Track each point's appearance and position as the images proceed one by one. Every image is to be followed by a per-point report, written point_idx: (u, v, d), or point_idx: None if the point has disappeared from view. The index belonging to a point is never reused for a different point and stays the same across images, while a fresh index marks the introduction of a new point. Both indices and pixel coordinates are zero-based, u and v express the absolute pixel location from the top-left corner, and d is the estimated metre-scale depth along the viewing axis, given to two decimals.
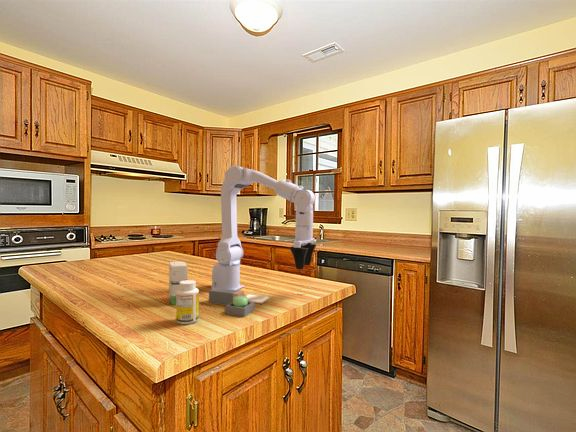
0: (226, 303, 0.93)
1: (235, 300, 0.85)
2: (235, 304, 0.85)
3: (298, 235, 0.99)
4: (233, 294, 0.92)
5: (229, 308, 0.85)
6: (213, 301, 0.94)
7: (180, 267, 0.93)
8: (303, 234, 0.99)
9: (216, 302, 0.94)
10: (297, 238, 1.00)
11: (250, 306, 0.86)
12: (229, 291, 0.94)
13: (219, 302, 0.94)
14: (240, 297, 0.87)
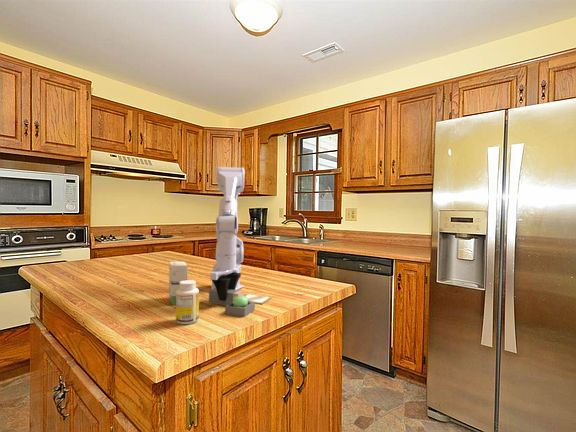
0: (226, 303, 0.93)
1: (235, 300, 0.85)
2: (235, 304, 0.85)
3: (219, 265, 0.92)
4: (233, 294, 0.92)
5: (229, 308, 0.85)
6: (213, 301, 0.94)
7: (180, 267, 0.93)
8: (223, 264, 0.92)
9: (216, 302, 0.94)
10: (218, 268, 0.93)
11: (250, 306, 0.86)
12: (229, 291, 0.94)
13: (219, 302, 0.94)
14: (240, 297, 0.87)
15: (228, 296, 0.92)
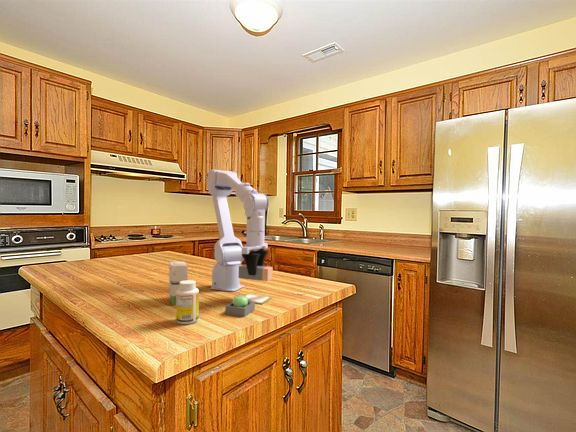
0: (256, 278, 0.96)
1: (235, 300, 0.85)
2: (235, 304, 0.85)
3: (249, 241, 0.96)
4: (262, 269, 0.96)
5: (229, 308, 0.85)
6: (243, 276, 0.98)
7: (180, 267, 0.93)
8: (253, 240, 0.95)
9: (246, 277, 0.98)
10: (247, 244, 0.96)
11: (250, 306, 0.86)
12: (258, 267, 0.98)
13: (249, 277, 0.97)
14: (240, 297, 0.87)
15: (258, 271, 0.96)
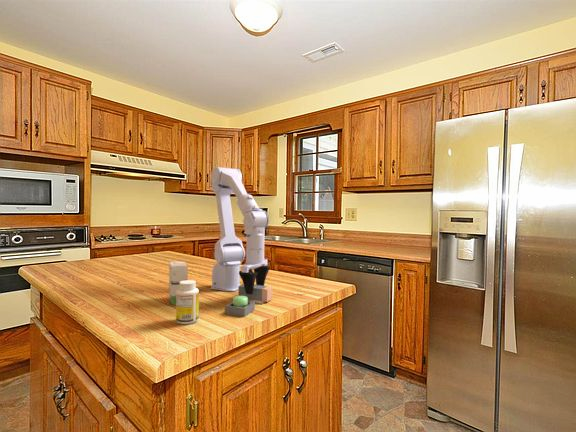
0: (255, 298, 0.97)
1: (235, 300, 0.85)
2: (235, 304, 0.85)
3: (249, 259, 0.96)
4: (262, 289, 0.96)
5: (229, 308, 0.85)
6: None
7: (180, 267, 0.93)
8: (252, 258, 0.96)
9: None
10: (247, 261, 0.97)
11: (250, 306, 0.86)
12: (258, 287, 0.98)
13: (248, 297, 0.97)
14: (240, 297, 0.87)
15: (257, 292, 0.96)
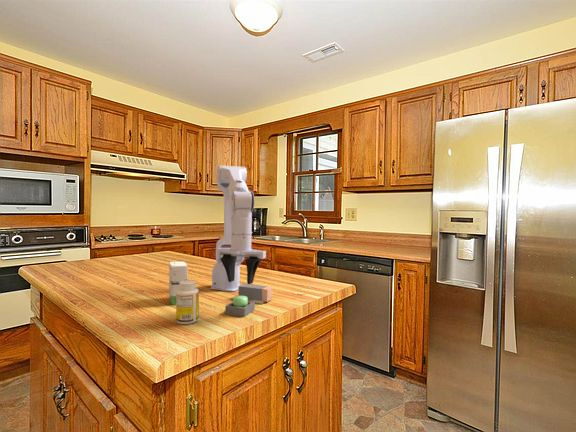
0: (255, 298, 0.97)
1: (235, 300, 0.85)
2: (235, 304, 0.85)
3: None
4: (262, 289, 0.96)
5: (229, 308, 0.85)
6: None
7: (180, 267, 0.93)
8: None
9: None
10: None
11: (250, 306, 0.86)
12: (258, 287, 0.98)
13: (248, 297, 0.97)
14: (240, 297, 0.87)
15: (257, 292, 0.96)
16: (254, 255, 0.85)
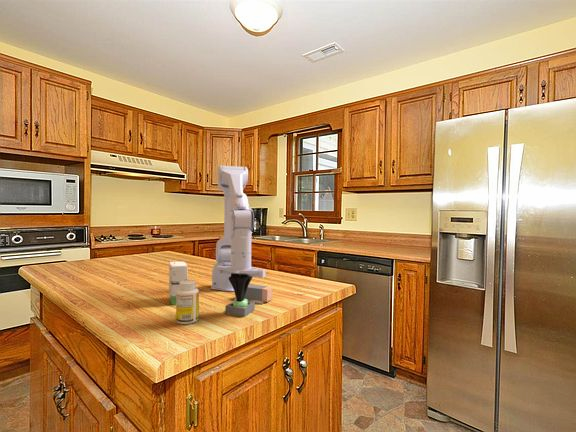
0: (255, 298, 0.97)
1: (235, 303, 0.85)
2: None
3: None
4: (262, 289, 0.96)
5: (229, 308, 0.85)
6: None
7: (180, 267, 0.93)
8: None
9: (245, 297, 0.98)
10: None
11: (250, 306, 0.86)
12: (258, 287, 0.98)
13: (248, 297, 0.97)
14: None
15: (257, 292, 0.96)
16: (254, 274, 0.85)
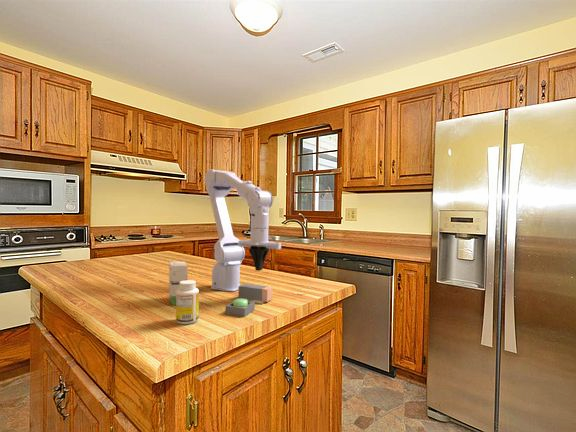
0: (255, 298, 0.97)
1: (235, 303, 0.85)
2: None
3: None
4: (262, 289, 0.96)
5: (229, 308, 0.85)
6: (242, 296, 0.98)
7: (180, 267, 0.93)
8: None
9: (245, 297, 0.98)
10: None
11: (250, 306, 0.86)
12: (258, 287, 0.98)
13: (248, 297, 0.97)
14: (240, 300, 0.87)
15: (257, 292, 0.96)
16: (271, 246, 0.97)
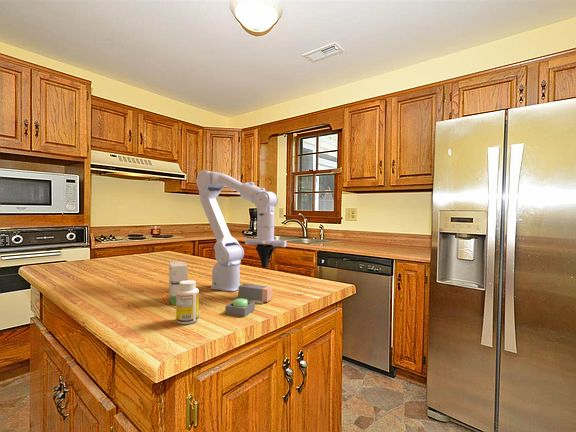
0: (255, 298, 0.97)
1: (235, 303, 0.85)
2: None
3: None
4: (262, 289, 0.96)
5: (229, 308, 0.85)
6: (242, 296, 0.98)
7: (180, 267, 0.93)
8: None
9: (245, 297, 0.98)
10: None
11: (250, 306, 0.86)
12: (258, 287, 0.98)
13: (248, 297, 0.97)
14: (240, 300, 0.87)
15: (257, 292, 0.96)
16: (277, 244, 1.02)
